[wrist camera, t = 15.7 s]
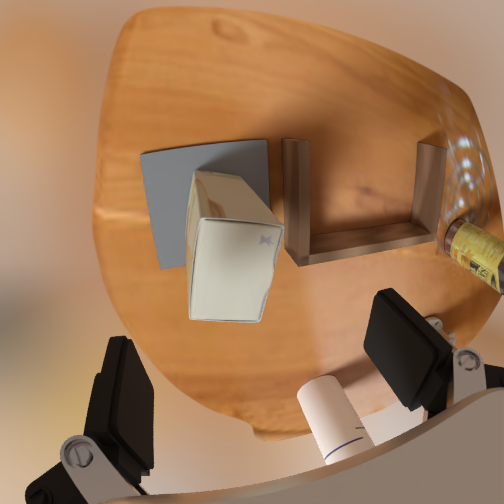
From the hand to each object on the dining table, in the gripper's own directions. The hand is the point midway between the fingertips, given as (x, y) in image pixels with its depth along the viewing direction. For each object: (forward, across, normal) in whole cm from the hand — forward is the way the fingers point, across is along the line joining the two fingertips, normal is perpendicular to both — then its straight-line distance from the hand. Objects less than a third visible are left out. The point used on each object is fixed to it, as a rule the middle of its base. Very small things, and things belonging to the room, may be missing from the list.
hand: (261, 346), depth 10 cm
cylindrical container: (+18, -12, +32) cm, 39 cm away
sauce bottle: (+18, -34, +8) cm, 40 cm away
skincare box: (+18, 0, 0) cm, 18 cm away
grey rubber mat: (+18, +1, 0) cm, 18 cm away
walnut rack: (+18, -15, 0) cm, 24 cm away
